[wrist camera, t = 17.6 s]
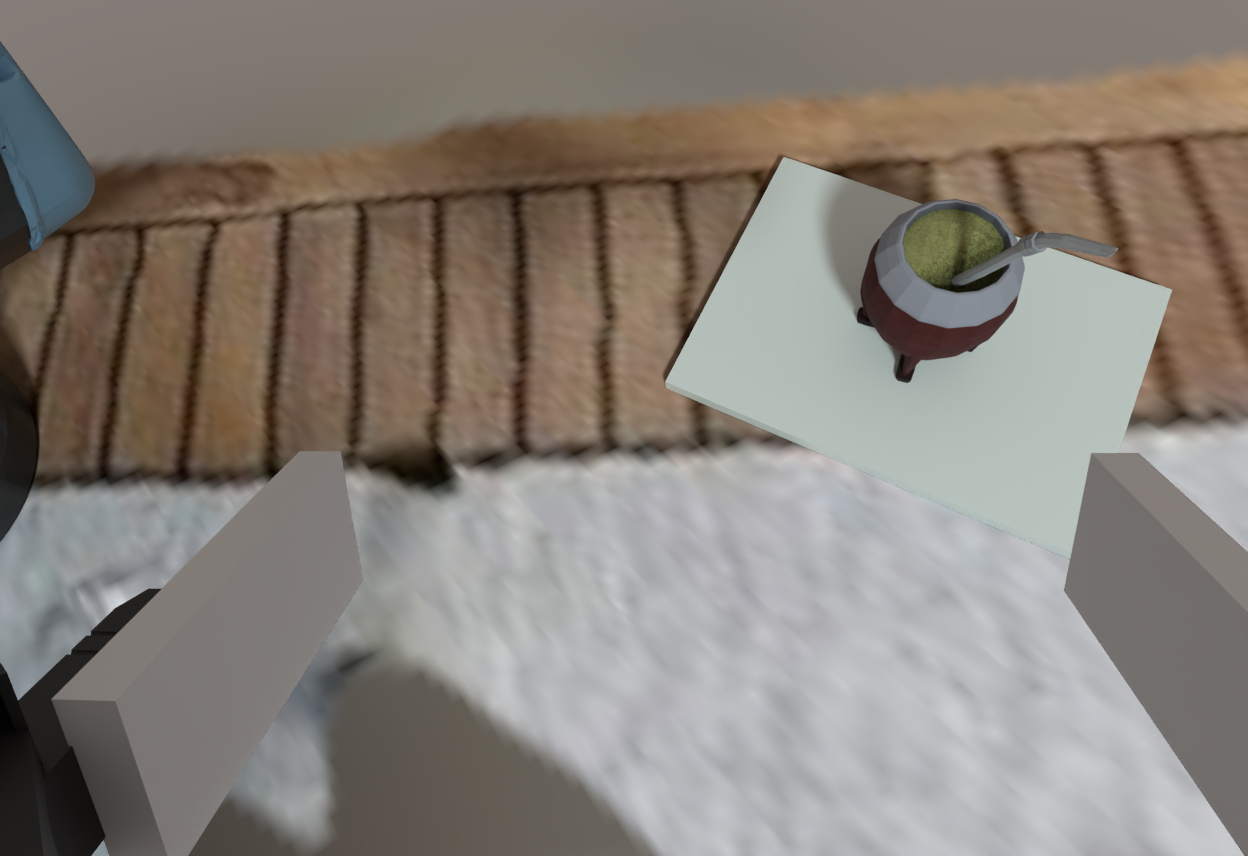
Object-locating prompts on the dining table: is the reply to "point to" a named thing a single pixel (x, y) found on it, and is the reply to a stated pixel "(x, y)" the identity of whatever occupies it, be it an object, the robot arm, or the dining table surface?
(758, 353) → the sage tile
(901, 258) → the mate gourd
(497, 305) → the dining table surface
